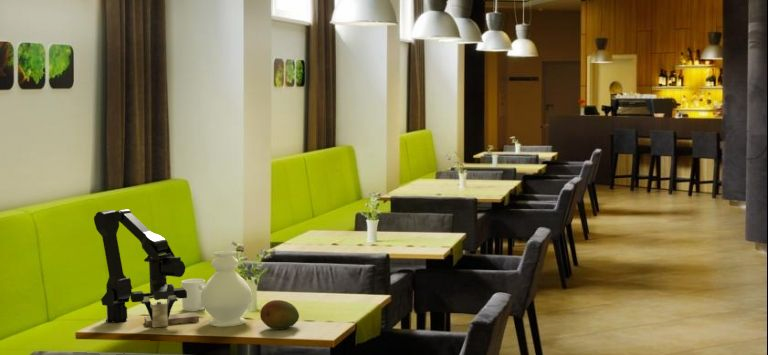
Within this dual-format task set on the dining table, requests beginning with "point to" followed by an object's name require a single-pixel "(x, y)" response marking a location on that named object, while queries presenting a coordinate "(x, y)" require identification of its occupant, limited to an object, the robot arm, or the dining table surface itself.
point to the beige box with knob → (159, 314)
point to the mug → (193, 294)
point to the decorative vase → (226, 292)
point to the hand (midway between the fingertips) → (159, 319)
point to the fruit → (279, 314)
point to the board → (177, 318)
